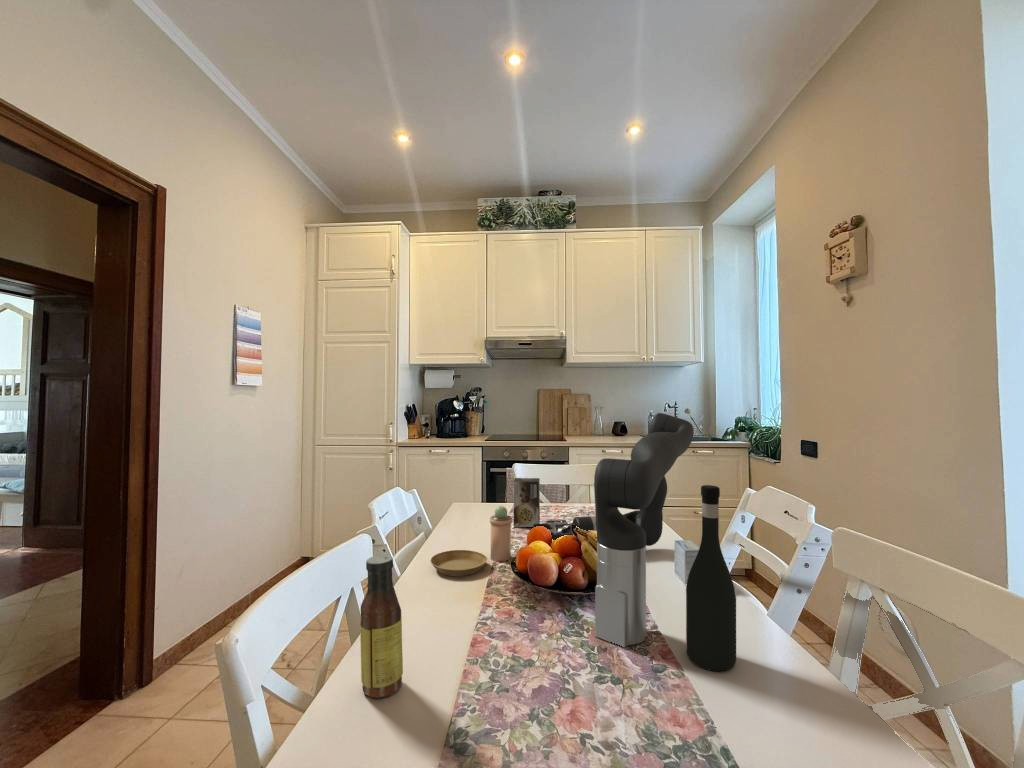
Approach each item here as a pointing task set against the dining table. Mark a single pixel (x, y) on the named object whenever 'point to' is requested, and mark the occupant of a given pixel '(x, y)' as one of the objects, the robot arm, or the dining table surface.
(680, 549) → the medicine box
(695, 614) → the wine bottle
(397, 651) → the sauce bottle
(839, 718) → the dining table surface
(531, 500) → the coffee box
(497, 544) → the pepper mill
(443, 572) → the plant saucer
